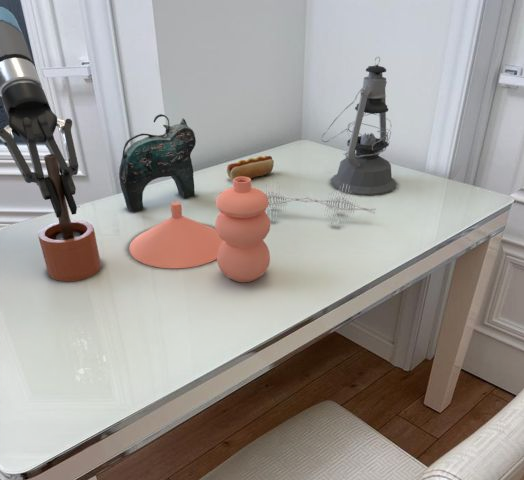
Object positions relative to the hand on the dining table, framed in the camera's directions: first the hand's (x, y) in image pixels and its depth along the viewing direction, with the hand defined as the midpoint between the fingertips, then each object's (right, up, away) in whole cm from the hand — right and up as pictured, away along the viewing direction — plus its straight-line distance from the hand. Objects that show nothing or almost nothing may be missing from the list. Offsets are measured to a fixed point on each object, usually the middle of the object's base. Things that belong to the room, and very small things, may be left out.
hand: (66, 212), depth 98 cm
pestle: (-2, -7, +9) cm, 12 cm away
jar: (-2, -9, +10) cm, 13 cm away
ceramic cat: (+10, +12, +38) cm, 41 cm away
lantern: (+60, +20, +48) cm, 80 cm away
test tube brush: (+45, +6, +30) cm, 54 cm away
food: (+32, +22, +52) cm, 65 cm away
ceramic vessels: (+22, -5, +15) cm, 27 cm away
